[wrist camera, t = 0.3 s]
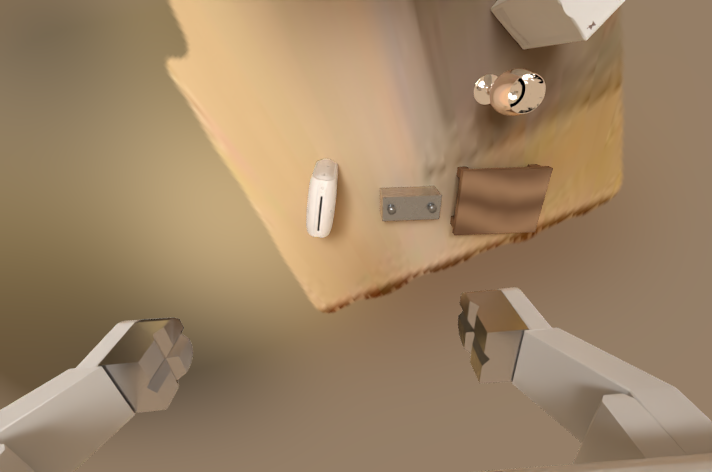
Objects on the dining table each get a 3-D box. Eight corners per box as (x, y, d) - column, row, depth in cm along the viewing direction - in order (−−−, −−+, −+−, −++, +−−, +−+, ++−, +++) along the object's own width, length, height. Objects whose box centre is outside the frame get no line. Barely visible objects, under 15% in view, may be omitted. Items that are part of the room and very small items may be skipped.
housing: (379, 187, 56) (383, 199, 51) (434, 185, 56) (442, 196, 51) (379, 209, 58) (383, 222, 53) (431, 207, 58) (440, 220, 53)
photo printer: (315, 155, 53) (307, 177, 42) (340, 159, 53) (338, 181, 42) (310, 210, 58) (302, 242, 47) (333, 212, 58) (330, 245, 47)
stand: (455, 164, 54) (463, 171, 51) (539, 162, 54) (552, 168, 51) (448, 225, 60) (454, 235, 56) (523, 222, 60) (534, 232, 57)
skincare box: (554, 15, 44) (642, -10, 31) (520, 52, 46) (588, 44, 33) (519, -33, 42) (599, -82, 29) (485, 9, 44) (544, -19, 31)
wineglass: (462, 101, 49) (494, 109, 39) (480, 63, 47) (519, 60, 36) (493, 114, 50) (533, 124, 40) (512, 76, 48) (560, 77, 37)
